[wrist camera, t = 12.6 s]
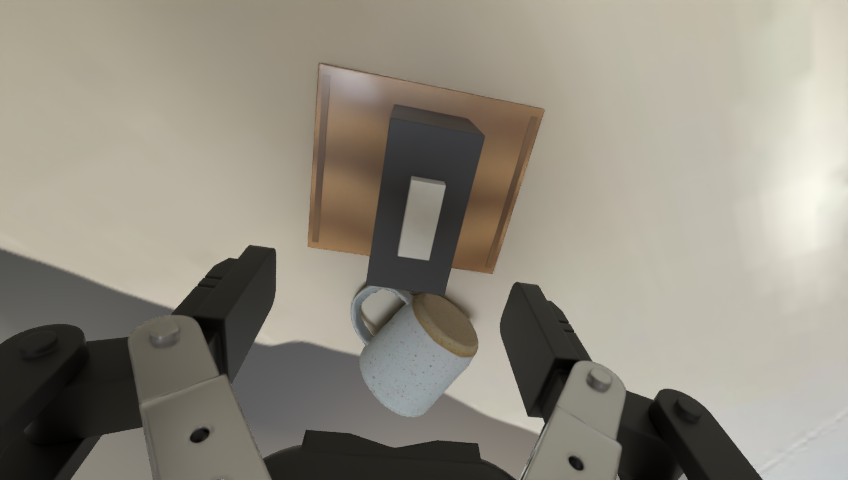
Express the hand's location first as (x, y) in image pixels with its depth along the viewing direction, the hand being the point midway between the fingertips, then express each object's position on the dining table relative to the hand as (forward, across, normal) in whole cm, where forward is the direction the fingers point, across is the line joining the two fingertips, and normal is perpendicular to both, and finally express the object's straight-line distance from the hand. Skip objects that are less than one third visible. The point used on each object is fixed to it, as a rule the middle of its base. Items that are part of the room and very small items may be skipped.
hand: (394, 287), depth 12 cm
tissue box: (+17, -2, +2) cm, 17 cm away
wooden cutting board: (+18, -2, +2) cm, 18 cm away
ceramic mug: (+18, -3, +15) cm, 23 cm away
